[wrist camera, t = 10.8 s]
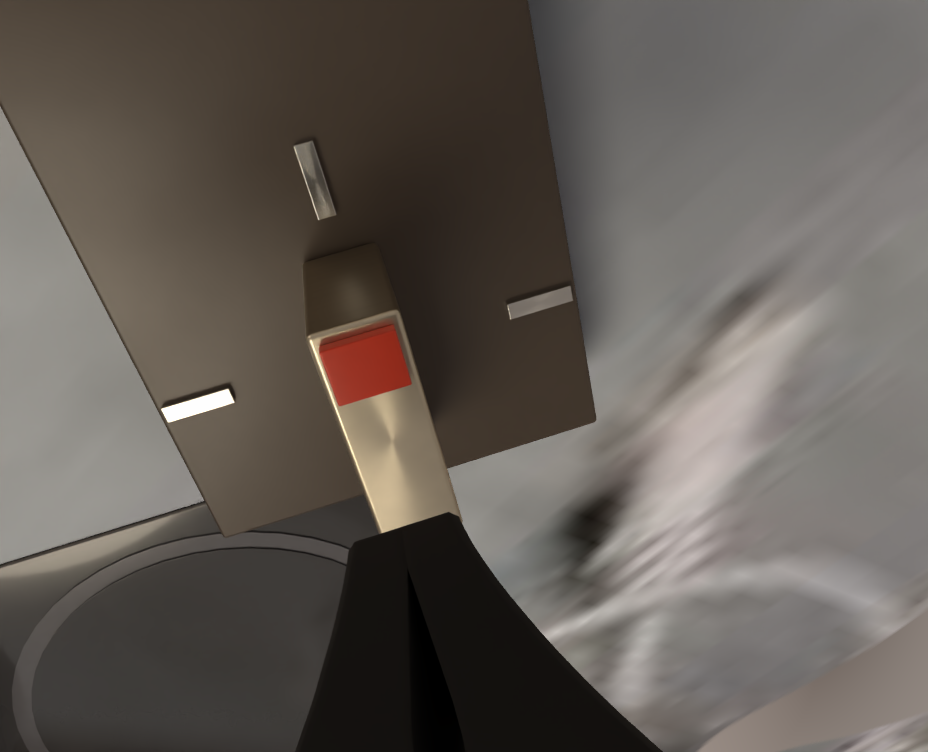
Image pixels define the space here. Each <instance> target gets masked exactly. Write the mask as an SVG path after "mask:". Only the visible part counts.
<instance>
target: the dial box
mask: <svg viewBox="0 0 928 752" xmlns="http://www.w3.org/2000/svg"><path fill="white" fill-rule="evenodd" d="M0 106H1V108H2V110H3V112H4V114H5V116H6V118H7V120H8V122H9V124H10V126H11V128H12V130H13V132H14V134H15V135H16V137H17V139H18V141H19V143H20V145H21V147H22V149H23V151H24V153H25V155H26V157H27V159H28V161H29V163H30V164H31V166H32V168H33V170H34V172H35V174H36V176H37V178H38V180H39V182H40V184H41V186H42V188H43V190H44V191H45V193H46V195H47V197H48V199H49V201H50V203H51V205H52V207H53V209H54V211H55V213H56V215H57V217H58V219H59V220H60V222H61V224H62V226H63V228H64V230H65V232H66V234H67V236H68V238H69V240H70V242H71V244H72V246H73V248H74V249H75V251H76V253H77V255H78V257H79V259H80V261H81V263H82V265H83V267H84V269H85V271H86V273H87V275H88V277H89V278H90V280H91V282H92V284H93V286H94V288H95V290H96V292H97V294H98V296H99V298H100V300H101V302H102V304H103V306H104V307H105V309H106V311H107V313H108V315H109V317H110V319H111V321H112V323H113V325H114V327H115V329H116V331H117V333H118V334H119V336H120V338H121V340H122V342H123V344H124V346H125V348H126V350H127V352H128V354H129V356H130V358H131V360H132V362H133V363H134V365H135V367H136V369H137V371H138V373H139V375H140V377H141V379H142V381H143V383H144V385H145V387H146V389H147V391H148V392H149V394H150V396H151V398H152V400H153V402H154V404H155V406H156V408H157V410H158V412H159V414H160V416H161V418H162V420H163V421H164V423H165V425H166V427H167V429H168V431H169V433H170V435H171V437H172V439H173V441H174V443H175V445H176V447H177V449H178V450H179V452H180V454H181V456H182V458H183V460H184V462H185V464H186V466H187V468H188V470H189V472H190V474H191V476H192V477H193V479H194V481H195V483H196V485H197V487H198V489H199V491H200V493H201V495H202V497H203V499H204V501H205V503H206V505H207V506H208V508H209V510H210V512H211V514H212V516H213V518H214V520H215V522H216V524H217V526H218V528H219V530H220V532H221V534H222V535H223V537H224V538H228V537H231V536H234V535H237V534H240V533H244V532H247V531H250V530H253V529H256V528H259V527H263V526H266V525H269V524H272V523H275V522H279V521H282V520H285V519H288V518H291V517H294V516H298V515H301V514H304V513H307V512H310V511H314V510H317V509H320V508H323V507H326V506H329V505H333V504H336V503H339V502H342V501H345V500H349V499H352V498H355V497H358V496H361V495H364V493H363V490H362V488H361V485H360V482H359V480H358V477H357V474H356V472H355V469H354V466H353V464H352V461H351V458H350V456H349V453H348V450H347V448H346V445H345V443H344V440H343V437H342V435H341V432H340V429H339V427H338V424H337V421H336V419H335V416H334V413H333V411H332V408H331V405H330V403H329V400H328V397H327V395H326V392H325V389H324V387H323V384H322V381H321V379H320V376H319V373H318V371H317V368H316V365H315V363H314V360H313V357H312V355H311V352H310V350H309V347H308V344H307V342H306V330H305V310H304V290H303V270H302V267H303V264H304V263H305V262H308V261H311V260H315V259H318V258H321V257H325V256H328V255H332V254H335V253H339V252H342V251H346V250H349V249H352V248H356V247H359V246H363V245H366V244H370V243H376V244H377V245H378V247H379V250H380V253H381V256H382V259H383V262H384V265H385V268H386V271H387V274H388V277H389V280H390V283H391V286H392V289H393V291H394V294H395V297H396V300H397V303H398V306H399V309H400V312H401V316H402V319H403V322H404V326H405V329H406V332H407V336H408V339H409V342H410V346H411V349H412V352H413V356H414V359H415V363H416V366H417V369H418V373H419V376H420V379H421V383H422V386H423V389H424V393H425V396H426V400H427V403H428V406H429V410H430V413H431V416H432V420H433V423H434V426H435V430H436V433H437V436H438V440H439V443H440V447H441V450H442V453H443V457H444V460H445V463H446V467H447V468H450V467H454V466H457V465H460V464H463V463H466V462H469V461H473V460H476V459H479V458H482V457H485V456H488V455H492V454H495V453H498V452H501V451H504V450H508V449H511V448H514V447H517V446H520V445H523V444H527V443H530V442H533V441H536V440H539V439H543V438H546V437H549V436H552V435H555V434H558V433H562V432H565V431H568V430H571V429H574V428H578V427H581V426H584V425H587V424H590V423H593V422H595V421H596V413H595V407H594V401H593V395H592V389H591V382H590V376H589V370H588V364H587V358H586V352H585V346H584V340H583V334H582V328H581V322H580V315H579V309H578V303H577V297H576V291H575V285H574V279H573V273H572V267H571V261H570V254H569V248H568V242H567V236H566V230H565V224H564V218H563V212H562V206H561V200H560V193H559V187H558V181H557V175H556V169H555V163H554V157H553V151H552V145H551V139H550V132H549V126H548V120H547V114H546V108H545V102H544V96H543V90H542V84H541V78H540V71H539V65H538V59H537V53H536V47H535V41H534V35H533V29H532V23H531V17H530V10H529V4H528V0H0Z"/></svg>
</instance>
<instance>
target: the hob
mask: <svg viewBox="0 0 928 752" xmlns="http://www.w3.org/2000/svg"><path fill="white" fill-rule="evenodd" d="M378 534H379V533H378V530H377V528H376V525H375V522H374V520H373V517H372V514H371V512H370V509H369V506H368V504H367V501H366V498H365V496H364V495H361V496H358V497H355V498H352V499H349V500H345V501H342V502H339V503H336V504H333V505H329V506H326V507H323V508H320V509H317V510H314V511H310V512H307V513H304V514H301V515H298V516H294V517H291V518H288V519H285V520H282V521H279V522H275V523H272V524H269V525H266V526H263V527H259V528H256V529H253V530H250V531H247V532H244V533H240V534H237V535H234V536H231V537H228V538H224V537H223V535H222V534H221V532H220V530H219V528H218V526H217V524H216V522H215V520H214V518H213V516H212V514H211V512H210V510H209V508H208V506H207V505H206V503H205V501H204V502H201V503H197V504H194V505H191V506H188V507H185V508H181V509H178V510H175V511H172V512H168V513H165V514H162V515H159V516H156V517H152V518H149V519H146V520H143V521H139V522H136V523H133V524H130V525H127V526H123V527H120V528H117V529H114V530H110V531H107V532H104V533H101V534H98V535H94V536H91V537H88V538H85V539H81V540H78V541H75V542H72V543H69V544H65V545H62V546H59V547H56V548H52V549H49V550H46V551H43V552H40V553H36V554H33V555H30V556H27V557H23V558H20V559H17V560H14V561H11V562H7V563H4V564H1V565H0V752H295V750H296V747H297V745H298V742H299V739H300V736H301V733H302V730H303V727H304V724H305V722H306V719H307V716H308V713H309V710H310V707H311V704H312V701H313V698H314V694H315V691H316V688H317V684H318V681H319V677H320V674H321V670H322V667H323V663H324V660H325V656H326V653H327V649H328V646H329V642H330V639H331V635H332V631H333V627H334V623H335V619H336V614H337V610H338V606H339V602H340V597H341V592H342V588H343V582H344V577H345V572H346V566H347V559H348V551H349V550H350V548H351V547H352V545H353V544H354V542H356V541H359V540H362V539H365V538H368V537H371V536H375V535H378Z"/></svg>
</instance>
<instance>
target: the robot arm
mask: <svg viewBox="0 0 928 752" xmlns="http://www.w3.org/2000/svg"><path fill="white" fill-rule="evenodd" d="M295 752H663V751H662V750H660V749H659V748H658V747H657V746H656V745H655V744H654V743H652V742H651V741H650V740H649V739H648V738H647V737H646V736H645V735H644V734H642V733H641V732H640V731H639V730H638V729H637V728H636V727H635V726H634V725H632V724H631V723H630V722H629V721H628V720H627V719H626V718H625V717H624V716H622V715H621V714H620V713H619V712H618V711H617V710H616V709H615V708H614V707H613V706H612V705H611V704H610V703H609V702H608V701H607V700H606V699H604V698H603V697H602V696H601V695H600V694H599V693H598V692H597V691H596V690H595V689H594V688H593V687H592V686H591V685H590V684H589V683H588V682H587V681H586V680H585V679H584V678H583V677H582V676H581V675H580V674H579V673H578V671H577V670H576V669H575V668H574V667H573V666H572V665H571V664H570V663H569V662H568V661H567V660H566V659H565V658H564V657H563V656H562V655H561V654H560V653H559V652H558V651H557V650H556V649H555V647H554V646H553V645H552V644H551V643H550V642H549V641H548V640H547V639H546V638H545V636H544V635H543V634H542V633H541V632H540V631H539V630H538V629H537V627H536V626H535V625H534V624H533V623H532V621H531V620H530V619H529V618H528V617H527V615H526V614H525V613H524V612H523V611H522V610H521V608H520V607H519V606H518V605H517V604H516V602H515V601H514V600H513V599H512V598H511V597H510V595H509V594H508V593H507V591H506V590H505V589H504V588H503V586H502V585H501V584H500V582H499V581H498V580H497V578H496V577H495V576H494V574H493V573H492V571H491V570H490V569H489V567H488V566H487V565H486V563H485V562H484V560H483V559H482V557H481V556H480V554H479V553H478V551H477V550H476V548H475V546H474V545H473V543H472V542H471V540H470V538H469V536H468V534H467V532H466V531H465V529H464V527H463V525H462V522H461V520H460V517H459V516H457V515H455V514H452V513H450V512H447V513H443V514H440V515H437V516H434V517H431V518H428V519H425V520H422V521H418V522H415V523H412V524H409V525H406V526H403V527H400V528H396V529H393V530H390V531H387V532H384V533H381V534H378V535H375V536H371V537H368V538H365V539H362V540H359V541H356V542H354V544H353V545H352V547H351V548H350V550H349V551H348V559H347V566H346V572H345V577H344V582H343V588H342V592H341V597H340V602H339V606H338V610H337V614H336V619H335V623H334V627H333V631H332V635H331V639H330V642H329V646H328V649H327V653H326V656H325V660H324V663H323V667H322V670H321V674H320V677H319V681H318V684H317V688H316V691H315V694H314V698H313V701H312V704H311V707H310V710H309V713H308V716H307V719H306V722H305V724H304V727H303V730H302V733H301V736H300V739H299V742H298V745H297V747H296V750H295Z"/></svg>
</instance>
